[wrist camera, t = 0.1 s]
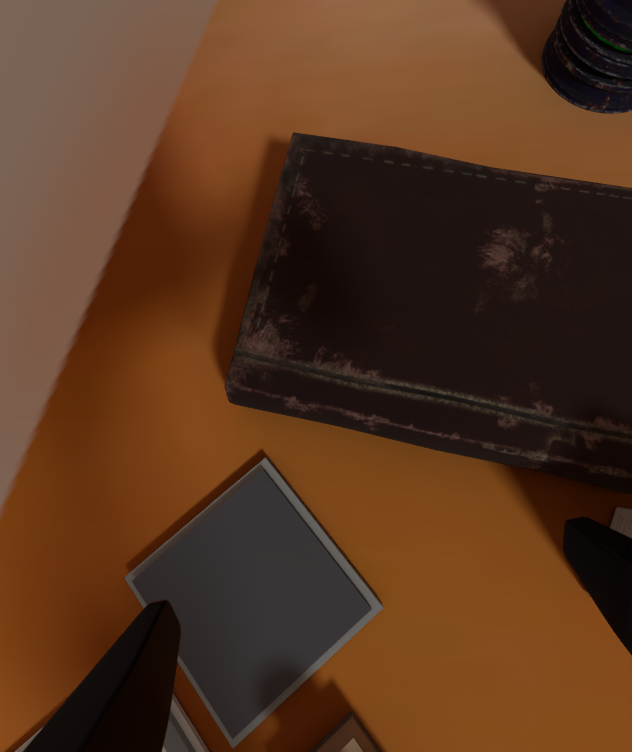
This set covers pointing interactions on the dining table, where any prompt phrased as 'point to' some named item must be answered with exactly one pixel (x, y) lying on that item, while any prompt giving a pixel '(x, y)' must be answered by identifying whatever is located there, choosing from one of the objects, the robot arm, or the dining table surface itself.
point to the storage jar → (592, 55)
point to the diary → (445, 308)
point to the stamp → (347, 738)
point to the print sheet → (170, 733)
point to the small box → (622, 521)
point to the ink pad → (254, 598)
